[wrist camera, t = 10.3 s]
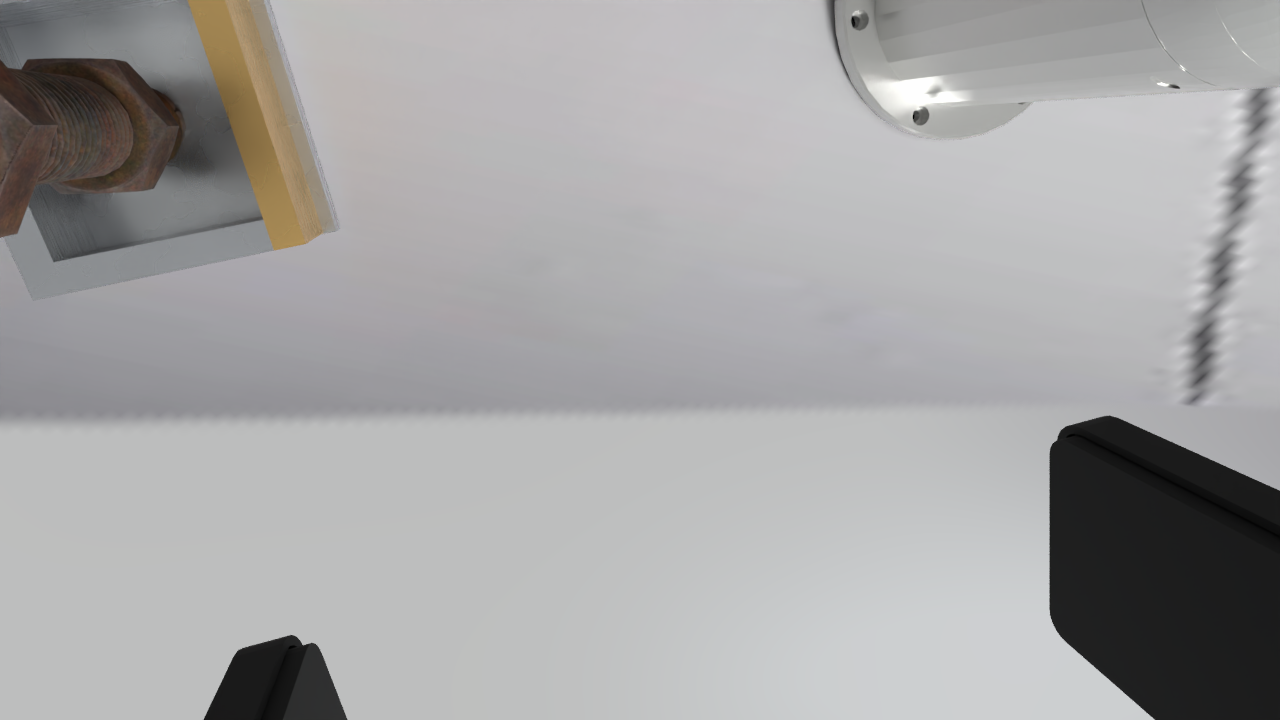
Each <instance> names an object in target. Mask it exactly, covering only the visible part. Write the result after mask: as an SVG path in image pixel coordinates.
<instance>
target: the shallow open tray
mask: <svg viewBox="0 0 1280 720" xmlns="http://www.w3.org/2000/svg"><path fill="white" fill-rule="evenodd" d="M44 58H96V59H115V60H120V61H126V62H127V63H128V64H129V65H130V66H131V67H132V68H133V69H134V70H135V71H136V72H137V73H138V74H139V75H140V76H141V77H142V78H143V79H144V80H145V82H146V83H147V84H148V85H149V86H150V87H151V88H153V89H155V90H158V91H159V92H161V93H162V94H164V95H166V96H167V97H168V98H169V99H170V100H171V101H172V102H173V103H174V106H175V110H174V111H175V112H177V111H178V112H179V111H180V112H181V114H182V116H183V118H184V121H185V125H186V130H185V139H184V140H183V141H182V143H181V146H180V148H179V150H178V151H177V153H176V155H175V157H174V158H173V159H171V160H170V161H169V162H168V163H167V165H166V167H165V169H164V171H163V173H162V175H161V177H160V179H159V180H158V182H157V184H156V186H155V188H154V189H151V190H146V191H139V192H123V193H100V194H60V193H59V192H58V191H57V190H55V189H54V188H53V187H52V186H51V185H49V184H41V185H36V186H35V188H34V191H33V194H32V196H31V199H30V202H29V204H28V207H27V210H26V212H25V215H24V218H23V220H22V223H21V226H20V228H19V231H18V234H14V235H9V236H5V237H4V239H5V241H6V244H7V246H8V248H9V250H10V252H11V254H12V257H13V259H14V261H15V263H16V265H17V267H18V270H19V272H20V274H21V276H22V278H23V280H24V283H25V285H26V287H27V289H28V291H29V293H30V296H31V298H32V300H33V301H34V300H39V299H43V298H48V297H53V296H58V295H63V294H67V293H72V292H77V291H82V290H87V289H91V288H96V287H101V286H106V285H111V284H115V283H120V282H125V281H130V280H135V279H139V278H144V277H149V276H154V275H159V274H163V273H168V272H173V271H178V270H183V269H187V268H192V267H197V266H202V265H207V264H211V263H216V262H221V261H226V260H231V259H235V258H240V257H245V256H250V255H255V254H259V253H264V252H269V251H274V250H278V249H283V248H288V247H293V246H298V245H302V244H306V243H308V242H309V241H311V240H313V239H314V238H316V237H317V236H319V235H321V234H326V233H331V232H335V231H338V230H339V229H340V225H339V222H338V219H337V216H336V213H335V209H334V206H333V203H332V200H331V197H330V193H329V190H328V187H327V184H326V181H325V178H324V174H323V171H322V168H321V165H320V162H319V158H318V155H317V152H316V149H315V146H314V142H313V139H312V136H311V133H310V130H309V127H308V123H307V120H306V117H305V114H304V111H303V107H302V104H301V101H300V98H299V95H298V91H297V88H296V85H295V82H294V79H293V76H292V72H291V69H290V66H289V63H288V60H287V56H286V53H285V50H284V47H283V44H282V40H281V37H280V34H279V31H278V28H277V25H276V21H275V18H274V15H273V12H272V9H271V5H270V2H269V0H0V59H1V61H2V62H3V63H4V64H5V65H6V66H7V67H8V68H13V69H22V67H23V65H24V64H25V62H26V61H27V59H44Z"/></svg>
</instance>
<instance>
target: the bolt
mask: <svg viewBox="0 0 1280 720" xmlns="http://www.w3.org/2000/svg"><path fill="white" fill-rule="evenodd" d="M174 110H175V106H174V103H173V102H172V101H171V100H170V99H169V98H168V97H167V96H166V95H164V94H162V93H161V92H159V91H158V90H155V89H153V88H151V87H150V86H149V85H148V84H147V83H146V82H145V80H144V79H143V78H142V77H141V76H140V75H139V74H138V73H137V72H136V71H135V70H134V69H133V68H132V67H131V66H130V65H129V64H128V63H127V62H126V61H120V60H115V59H96V58H44V59H27V61H26V62H25V64H24V65H23V67H22V69H13V68H8V67H7V66H6V65H5V64H4V63H3V62H2V61H1V59H0V237H5V236H9V235H14V234H18V231H19V228H20V226H21V223H22V220H23V218H24V215H25V212H26V210H27V207H28V204H29V202H30V199H31V196H32V194H33V191H34V188H35V186H36V185H41V184H49V185H51V186H52V187H53V188H54V189H55V190H57V191H58V192H59V193H60V194H100V193H123V192H139V191H146V190H151V189H154V188H155V186H156V184H157V182H158V180H159V179H160V177H161V175H162V173H163V171H164V169H165V167H166V165H167V163H168V162H169V161H170V160H171V159H173V158H174V157H175V155H176V153H177V151H178V150H179V148H180V146H181V143H182V141H183V140H184V139H185V130H186V125H185V121H184V118H183V116H182V114H181V112H180V111H179V112H178V111H177V112H175V111H174Z"/></svg>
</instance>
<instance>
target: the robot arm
mask: <svg viewBox="0 0 1280 720" xmlns="http://www.w3.org/2000/svg"><path fill="white" fill-rule="evenodd" d="M834 7H835V27H836V36H837V40H838V45H839V49H840V54H841V58H842V61H843V63H844V66H845V68H846V71H847V73H848V75H849V78H850V80H851V82H852V84H853V85H854V87H855V88H856V90H857V91H858V93H859V95H860V96H861V98H862V99H863V101H864V102H865V103H866V104H867V105H868V106H869V107H870V108H871V109H872V110H873V111H874V112H875V113H876V114H877V115H878V116H879V117H880V118H881V119H883V120H884V121H886V122H887V123H889V124H890V125H892V126H894V127H895V128H897V129H898V130H900V131H903V132H906V133H909V134H911V135H914V136H917V137H920V138H929V139H938V140H952V139H965V138H970V137H975V136H979V135H984V134H986V133H988V132H990V131H993V130H995V129H997V128H999V127H1002V126H1004V125H1005V124H1007V123H1008V122H1010V121H1011V120H1013V119H1014V118H1016V117H1017V116H1019V115H1020V114H1022V113H1023V112H1024V111H1025V110H1026V109H1027V108H1028V107H1029V106H1030V105H1032V104H1033V103H1034V102H1040V101H1057V100H1073V99H1090V98H1107V97H1124V96H1140V95H1157V94H1174V93H1190V92H1207V91H1224V90H1239V89H1257V88H1274V87H1280V0H835V4H834ZM851 17H852V18H853V19H854V20H855V26H854V27H852V24H851ZM913 113H914V115H915V118H914V120H913ZM1050 616H1051V619H1052V622H1053V624H1054V626H1055V628H1056V630H1057V632H1058V633H1059V635H1060V636H1061V637H1062V638H1063V639H1064V640H1065V641H1066V642H1067V643H1068V644H1069V645H1070V646H1071V647H1073V648H1074V649H1075V650H1076V651H1077V652H1078V653H1079V654H1081V655H1082V656H1083V657H1084V658H1085V659H1086V660H1087V661H1088V662H1090V663H1091V664H1092V665H1093V666H1094V667H1095V668H1096V669H1098V670H1099V671H1100V672H1101V673H1102V674H1103V675H1104V676H1106V677H1107V678H1108V679H1109V680H1110V681H1111V682H1113V683H1114V684H1115V685H1116V686H1117V687H1118V688H1120V689H1121V690H1122V691H1123V692H1124V693H1125V694H1126V695H1127V696H1129V697H1130V698H1131V699H1132V700H1133V701H1134V702H1135V703H1137V704H1138V705H1139V706H1140V707H1141V708H1142V709H1143V710H1145V711H1146V712H1147V713H1148V714H1149V715H1150V716H1151V717H1153V718H1154V719H1155V720H1280V491H1279V490H1277V489H1274V488H1272V487H1270V486H1268V485H1266V484H1263V483H1261V482H1259V481H1257V480H1254V479H1252V478H1250V477H1248V476H1246V475H1243V474H1241V473H1239V472H1237V471H1235V470H1232V469H1230V468H1228V467H1226V466H1223V465H1221V464H1219V463H1217V462H1215V461H1212V460H1210V459H1208V458H1206V457H1203V456H1201V455H1199V454H1197V453H1195V452H1192V451H1190V450H1188V449H1186V448H1183V447H1181V446H1179V445H1177V444H1175V443H1172V442H1170V441H1168V440H1166V439H1163V438H1161V437H1159V436H1157V435H1154V434H1152V433H1150V432H1147V431H1145V430H1143V429H1141V428H1139V427H1137V426H1134V425H1132V424H1130V423H1128V422H1126V421H1123V420H1121V419H1119V418H1116V417H1112V416H1104V417H1099V418H1096V419H1092V420H1088V421H1084V422H1081V423H1077V424H1074V425H1070V426H1066V427H1065V428H1063V429H1062V430H1061V431H1060V433H1059V436H1058V439H1057V441H1056V442H1054V443H1053V444H1052V446H1051V449H1050ZM204 720H347V718H346V715H345V713H344V710H343V707H342V705H341V702H340V700H339V697H338V694H337V692H336V689H335V687H334V684H333V681H332V679H331V676H330V674H329V671H328V669H327V666H326V663H325V661H324V658H323V656H322V653H321V651H320V649H319V647H318V646H317V645H316V644H314V643H310V644H306V645H302V643H301V641H300V640H299V639H298V638H297V637H296V636H293V635H290V636H286V637H282V638H279V639H275V640H271V641H268V642H264V643H260V644H256V645H253V646H249V647H245V648H242V649H240V650H238V651H237V653H236V654H235V656H234V657H233V659H232V661H231V663H230V665H229V667H228V670H227V672H226V674H225V676H224V678H223V680H222V682H221V685H220V686H219V688H218V691H217V693H216V695H215V697H214V699H213V701H212V703H211V705H210V707H209V710H208V712H207V714H206V716H205V718H204Z"/></svg>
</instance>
